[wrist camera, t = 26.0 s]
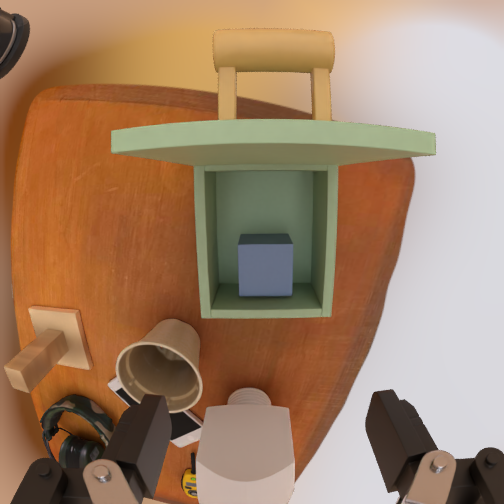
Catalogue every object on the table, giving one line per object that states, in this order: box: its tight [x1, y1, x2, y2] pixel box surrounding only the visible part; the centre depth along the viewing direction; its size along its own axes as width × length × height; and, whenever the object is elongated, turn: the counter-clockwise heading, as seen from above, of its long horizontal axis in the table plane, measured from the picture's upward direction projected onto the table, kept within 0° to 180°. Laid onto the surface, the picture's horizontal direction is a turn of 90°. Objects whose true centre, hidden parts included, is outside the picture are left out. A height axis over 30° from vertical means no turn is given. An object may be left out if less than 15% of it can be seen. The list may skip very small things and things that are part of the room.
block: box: [238, 234, 293, 296], centre depth 31 cm, size 5×5×5 cm
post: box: [4, 306, 93, 393], centre depth 32 cm, size 9×9×12 cm
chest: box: [194, 164, 338, 318], centre depth 30 cm, size 14×12×8 cm
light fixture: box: [196, 388, 295, 504], centre depth 30 cm, size 9×9×20 cm
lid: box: [111, 28, 436, 166], centre depth 16 cm, size 15×12×6 cm
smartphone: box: [108, 376, 203, 447], centre depth 40 cm, size 7×15×1 cm, turn 38°
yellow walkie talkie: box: [181, 453, 198, 498], centre depth 44 cm, size 5×2×15 cm
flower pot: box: [116, 319, 203, 413], centre depth 33 cm, size 9×9×9 cm
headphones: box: [40, 395, 116, 469], centre depth 39 cm, size 13×13×20 cm
